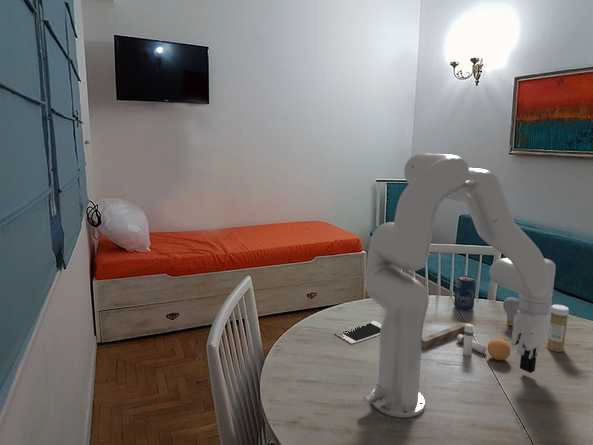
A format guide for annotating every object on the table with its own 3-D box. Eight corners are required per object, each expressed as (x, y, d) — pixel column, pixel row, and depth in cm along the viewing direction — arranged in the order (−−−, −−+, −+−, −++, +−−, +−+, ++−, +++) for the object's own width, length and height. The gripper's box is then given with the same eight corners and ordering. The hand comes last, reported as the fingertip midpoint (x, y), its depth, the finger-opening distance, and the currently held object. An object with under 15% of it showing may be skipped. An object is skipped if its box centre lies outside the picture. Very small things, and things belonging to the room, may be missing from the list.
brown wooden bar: (424, 349, 131) (425, 341, 130) (419, 346, 132) (419, 339, 132) (468, 331, 143) (469, 324, 143) (463, 329, 145) (463, 322, 144)
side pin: (468, 357, 126) (470, 328, 125) (460, 353, 128) (463, 324, 127) (473, 354, 128) (475, 325, 126) (465, 351, 130) (468, 323, 128)
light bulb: (519, 324, 149) (522, 296, 147) (517, 330, 144) (520, 301, 142) (502, 320, 152) (505, 293, 150) (500, 326, 147) (502, 298, 145)
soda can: (455, 311, 160) (457, 280, 157) (452, 304, 166) (454, 274, 164) (475, 312, 159) (478, 281, 156) (471, 305, 165) (473, 275, 163)
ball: (479, 343, 127) (488, 363, 124) (495, 336, 122) (504, 357, 120) (493, 341, 130) (502, 361, 127) (509, 334, 125) (518, 355, 122)
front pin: (485, 344, 128) (460, 332, 136) (480, 349, 127) (455, 337, 135) (487, 350, 129) (462, 338, 137) (482, 355, 128) (457, 343, 136)
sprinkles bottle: (566, 349, 131) (572, 307, 128) (559, 353, 128) (564, 310, 126) (551, 344, 135) (556, 302, 132) (543, 347, 132) (548, 305, 130)
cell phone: (393, 332, 144) (393, 329, 144) (351, 346, 134) (352, 343, 134) (374, 322, 151) (374, 320, 151) (333, 335, 141) (333, 332, 141)
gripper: (534, 295, 120) (527, 356, 124) (504, 306, 112) (498, 372, 115) (563, 303, 114) (555, 367, 118) (533, 316, 106) (526, 385, 109)
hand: (527, 369), depth 116 cm, fingers closed
